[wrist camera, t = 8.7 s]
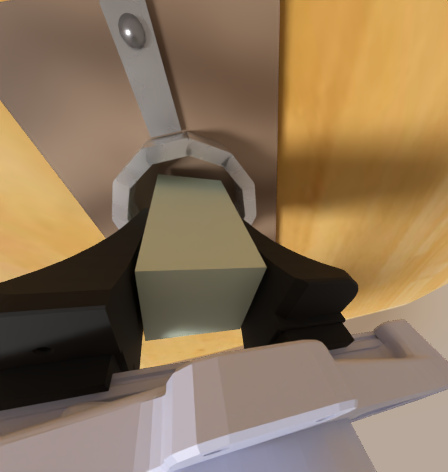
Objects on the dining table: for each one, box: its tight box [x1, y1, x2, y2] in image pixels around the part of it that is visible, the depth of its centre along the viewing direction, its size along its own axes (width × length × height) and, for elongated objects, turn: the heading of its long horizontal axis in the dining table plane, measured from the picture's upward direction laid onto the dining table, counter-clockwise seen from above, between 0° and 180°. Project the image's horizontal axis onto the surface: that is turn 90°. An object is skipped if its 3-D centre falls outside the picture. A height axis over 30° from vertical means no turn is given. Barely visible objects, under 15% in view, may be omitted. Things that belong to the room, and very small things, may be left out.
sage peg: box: [135, 174, 267, 341], centre depth 10 cm, size 4×4×8 cm
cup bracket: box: [0, 0, 280, 242], centre depth 13 cm, size 20×14×4 cm
